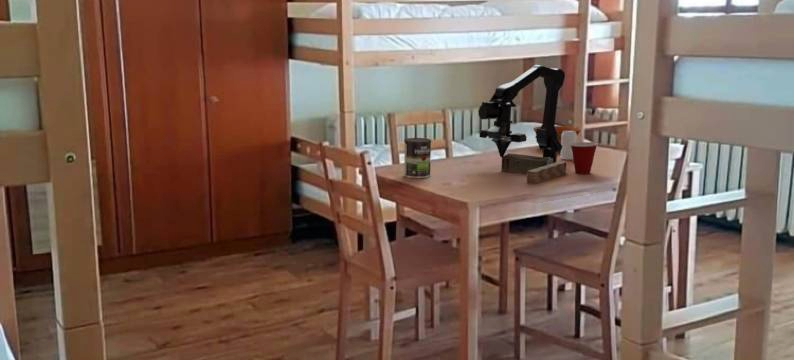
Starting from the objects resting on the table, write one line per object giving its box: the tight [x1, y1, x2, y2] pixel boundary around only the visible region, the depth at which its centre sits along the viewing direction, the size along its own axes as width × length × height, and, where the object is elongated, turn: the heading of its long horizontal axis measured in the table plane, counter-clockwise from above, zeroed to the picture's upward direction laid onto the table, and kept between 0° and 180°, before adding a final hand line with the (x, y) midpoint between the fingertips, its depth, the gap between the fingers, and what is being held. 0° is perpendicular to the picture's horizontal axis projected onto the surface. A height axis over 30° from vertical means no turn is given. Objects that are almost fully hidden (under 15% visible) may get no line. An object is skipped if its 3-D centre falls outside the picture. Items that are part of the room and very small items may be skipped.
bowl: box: [533, 125, 581, 144], centre depth 373 cm, size 21×21×10 cm
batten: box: [526, 160, 567, 185], centre depth 311 cm, size 26×3×4 cm, turn 142°
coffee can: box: [403, 137, 432, 179], centre depth 313 cm, size 10×10×14 cm
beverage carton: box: [501, 153, 553, 174], centre depth 323 cm, size 8×19×7 cm, turn 62°
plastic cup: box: [570, 141, 599, 175], centre depth 321 cm, size 11×11×12 cm
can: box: [560, 130, 578, 161], centre depth 350 cm, size 6×6×12 cm
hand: (501, 157), depth 326 cm, fingers closed
